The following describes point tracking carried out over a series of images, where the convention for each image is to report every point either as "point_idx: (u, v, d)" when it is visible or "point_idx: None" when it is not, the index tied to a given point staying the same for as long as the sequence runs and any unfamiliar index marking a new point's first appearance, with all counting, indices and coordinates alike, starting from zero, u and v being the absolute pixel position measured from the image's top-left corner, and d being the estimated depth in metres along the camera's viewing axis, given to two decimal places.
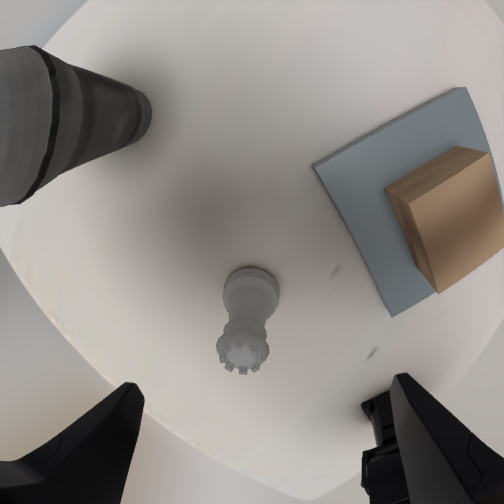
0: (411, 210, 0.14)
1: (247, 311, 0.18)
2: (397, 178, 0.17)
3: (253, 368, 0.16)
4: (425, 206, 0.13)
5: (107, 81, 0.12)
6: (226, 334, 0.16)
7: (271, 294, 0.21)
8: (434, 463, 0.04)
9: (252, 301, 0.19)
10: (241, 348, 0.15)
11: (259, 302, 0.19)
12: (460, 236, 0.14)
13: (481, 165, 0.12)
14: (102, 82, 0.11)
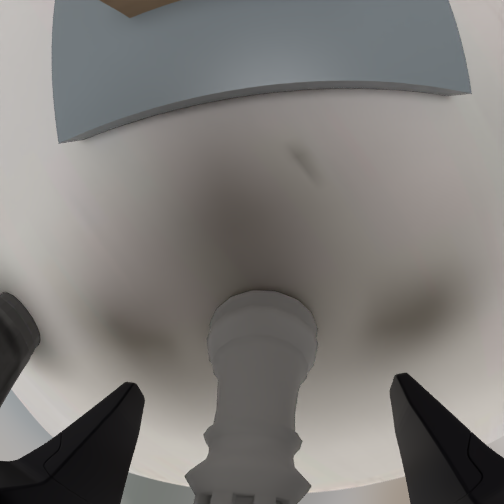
0: None
1: (219, 407, 0.07)
2: None
3: None
4: None
5: None
6: None
7: (258, 323, 0.09)
8: (434, 463, 0.04)
9: (225, 375, 0.08)
10: None
11: (239, 363, 0.08)
12: None
13: None
14: None
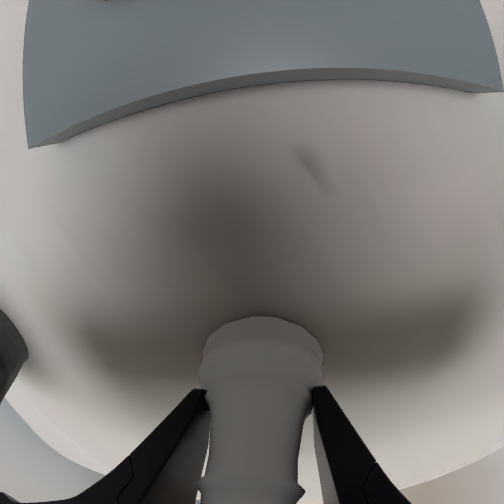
0: None
1: (212, 454, 0.06)
2: None
3: None
4: None
5: None
6: None
7: (256, 358, 0.08)
8: (330, 487, 0.05)
9: (219, 417, 0.07)
10: None
11: (234, 405, 0.07)
12: None
13: None
14: None
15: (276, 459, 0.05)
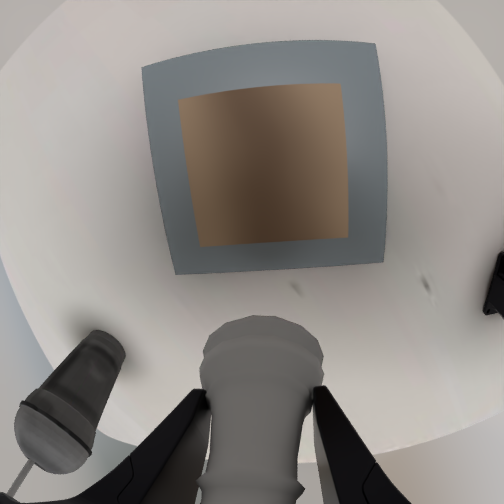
0: None
1: (212, 452, 0.06)
2: None
3: None
4: (211, 227, 0.13)
5: (65, 364, 0.19)
6: None
7: (256, 357, 0.08)
8: (330, 487, 0.05)
9: (219, 415, 0.07)
10: None
11: (234, 404, 0.07)
12: (275, 182, 0.12)
13: (189, 119, 0.11)
14: (62, 371, 0.18)
15: (276, 456, 0.05)
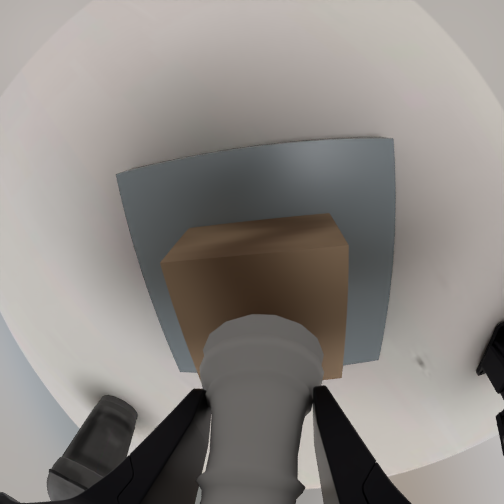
0: None
1: (212, 450, 0.06)
2: None
3: None
4: None
5: (84, 433, 0.19)
6: None
7: (256, 355, 0.08)
8: (330, 487, 0.05)
9: (219, 414, 0.07)
10: None
11: (234, 402, 0.07)
12: None
13: (176, 284, 0.11)
14: (83, 440, 0.18)
15: (276, 455, 0.05)
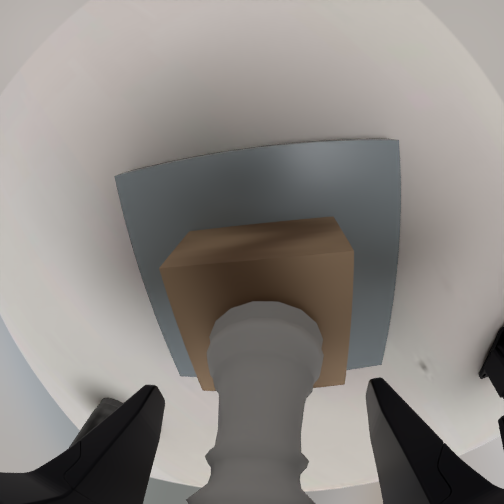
0: (211, 390, 0.13)
1: (221, 427, 0.07)
2: None
3: None
4: (211, 378, 0.12)
5: None
6: None
7: (260, 338, 0.09)
8: (403, 473, 0.04)
9: (227, 393, 0.08)
10: None
11: (241, 381, 0.08)
12: None
13: (175, 290, 0.10)
14: None
15: (280, 429, 0.06)
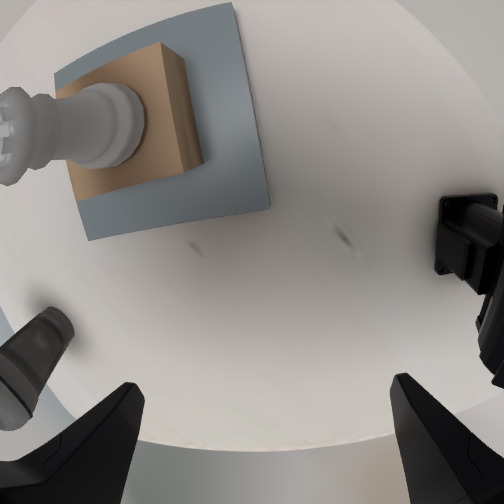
0: (81, 200, 0.14)
1: None
2: None
3: None
4: (80, 183, 0.13)
5: (16, 333, 0.19)
6: None
7: (85, 90, 0.09)
8: (434, 463, 0.04)
9: None
10: None
11: None
12: None
13: None
14: (13, 338, 0.18)
15: (56, 100, 0.07)
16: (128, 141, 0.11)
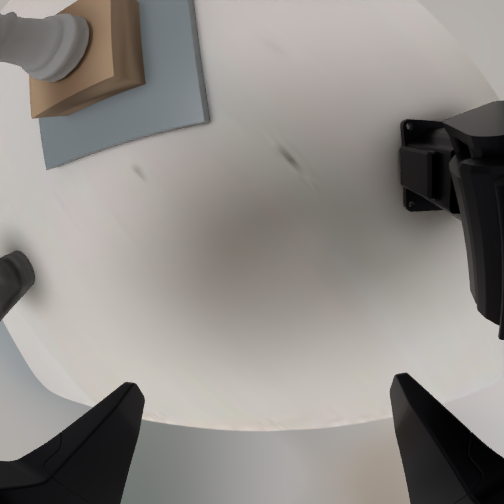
0: (35, 116, 0.12)
1: None
2: None
3: None
4: (36, 101, 0.12)
5: None
6: None
7: None
8: (434, 463, 0.04)
9: None
10: None
11: None
12: None
13: None
14: None
15: (19, 17, 0.05)
16: (70, 51, 0.09)
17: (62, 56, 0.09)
